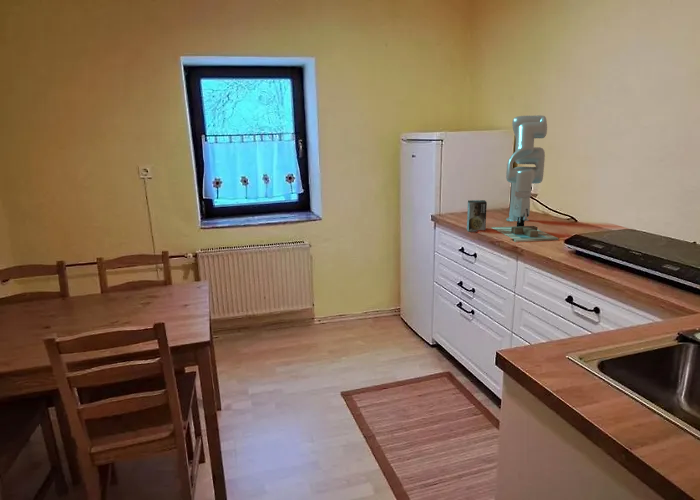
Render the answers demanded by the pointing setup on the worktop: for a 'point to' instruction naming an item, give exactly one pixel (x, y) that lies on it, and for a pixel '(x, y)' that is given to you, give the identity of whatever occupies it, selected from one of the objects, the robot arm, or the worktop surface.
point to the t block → (525, 230)
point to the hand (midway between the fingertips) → (520, 229)
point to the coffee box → (476, 215)
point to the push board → (523, 238)
